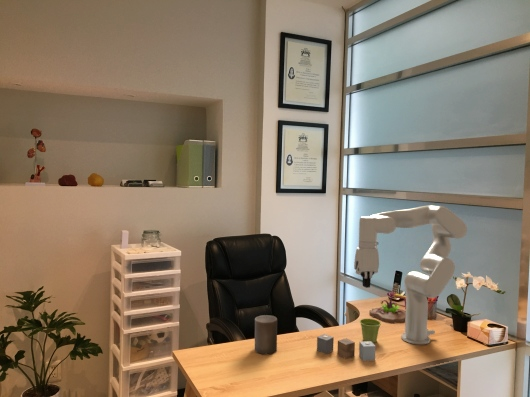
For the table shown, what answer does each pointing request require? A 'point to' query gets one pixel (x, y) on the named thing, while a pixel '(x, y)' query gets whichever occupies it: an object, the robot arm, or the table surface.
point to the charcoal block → (325, 343)
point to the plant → (389, 312)
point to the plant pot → (370, 329)
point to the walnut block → (346, 348)
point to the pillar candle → (265, 334)
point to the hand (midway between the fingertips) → (366, 286)
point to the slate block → (367, 350)
